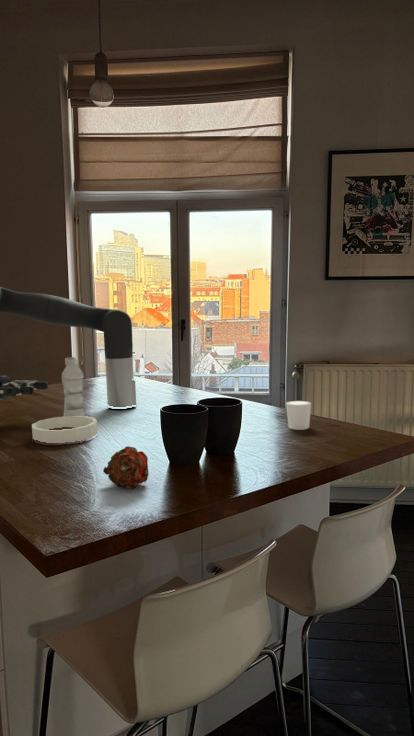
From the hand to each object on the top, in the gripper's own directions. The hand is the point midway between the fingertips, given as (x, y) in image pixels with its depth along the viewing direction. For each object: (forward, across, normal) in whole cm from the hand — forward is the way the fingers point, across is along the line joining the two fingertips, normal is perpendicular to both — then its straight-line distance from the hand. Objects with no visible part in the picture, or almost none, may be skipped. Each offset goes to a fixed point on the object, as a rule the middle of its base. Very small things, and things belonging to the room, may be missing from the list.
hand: (40, 387), depth 168 cm
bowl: (+14, -15, +11) cm, 24 cm away
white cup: (+77, +1, +11) cm, 78 cm away
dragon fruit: (+45, -49, +11) cm, 68 cm away
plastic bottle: (+10, 0, +11) cm, 15 cm away
